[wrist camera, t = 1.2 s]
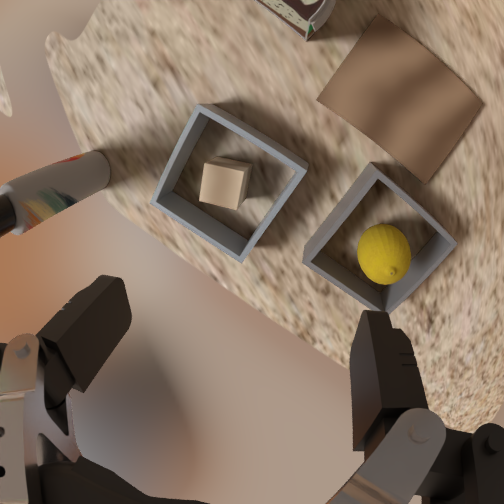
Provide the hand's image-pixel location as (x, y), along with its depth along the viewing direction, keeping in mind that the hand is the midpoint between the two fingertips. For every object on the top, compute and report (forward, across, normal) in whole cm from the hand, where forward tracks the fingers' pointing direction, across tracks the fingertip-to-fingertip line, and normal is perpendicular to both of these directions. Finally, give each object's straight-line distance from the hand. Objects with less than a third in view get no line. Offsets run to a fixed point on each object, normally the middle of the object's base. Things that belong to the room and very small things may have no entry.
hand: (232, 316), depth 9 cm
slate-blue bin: (+24, +6, +2) cm, 25 cm away
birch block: (+24, +6, +2) cm, 25 cm away
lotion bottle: (+25, +25, +1) cm, 36 cm away
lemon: (+24, -11, +6) cm, 27 cm away
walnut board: (+23, -12, -9) cm, 28 cm away
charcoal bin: (+24, -11, +6) cm, 27 cm away
